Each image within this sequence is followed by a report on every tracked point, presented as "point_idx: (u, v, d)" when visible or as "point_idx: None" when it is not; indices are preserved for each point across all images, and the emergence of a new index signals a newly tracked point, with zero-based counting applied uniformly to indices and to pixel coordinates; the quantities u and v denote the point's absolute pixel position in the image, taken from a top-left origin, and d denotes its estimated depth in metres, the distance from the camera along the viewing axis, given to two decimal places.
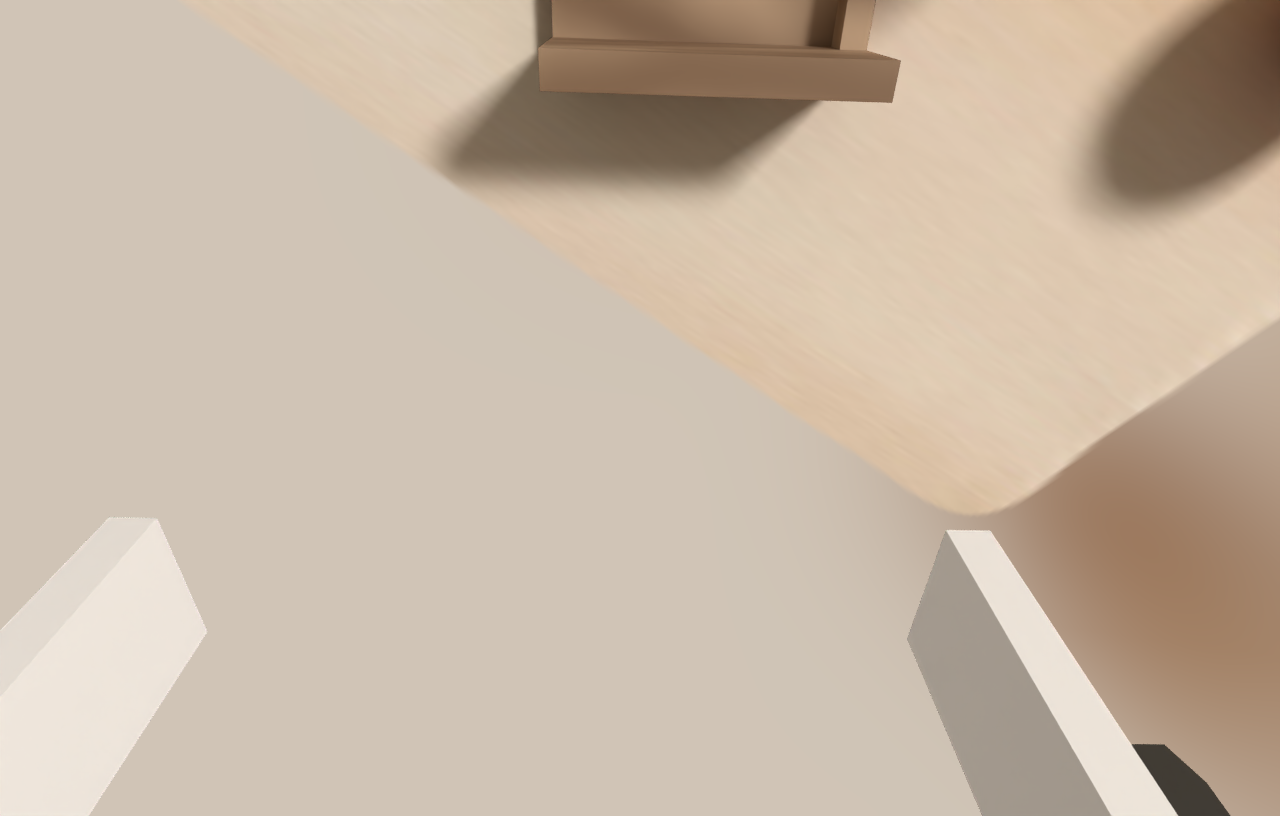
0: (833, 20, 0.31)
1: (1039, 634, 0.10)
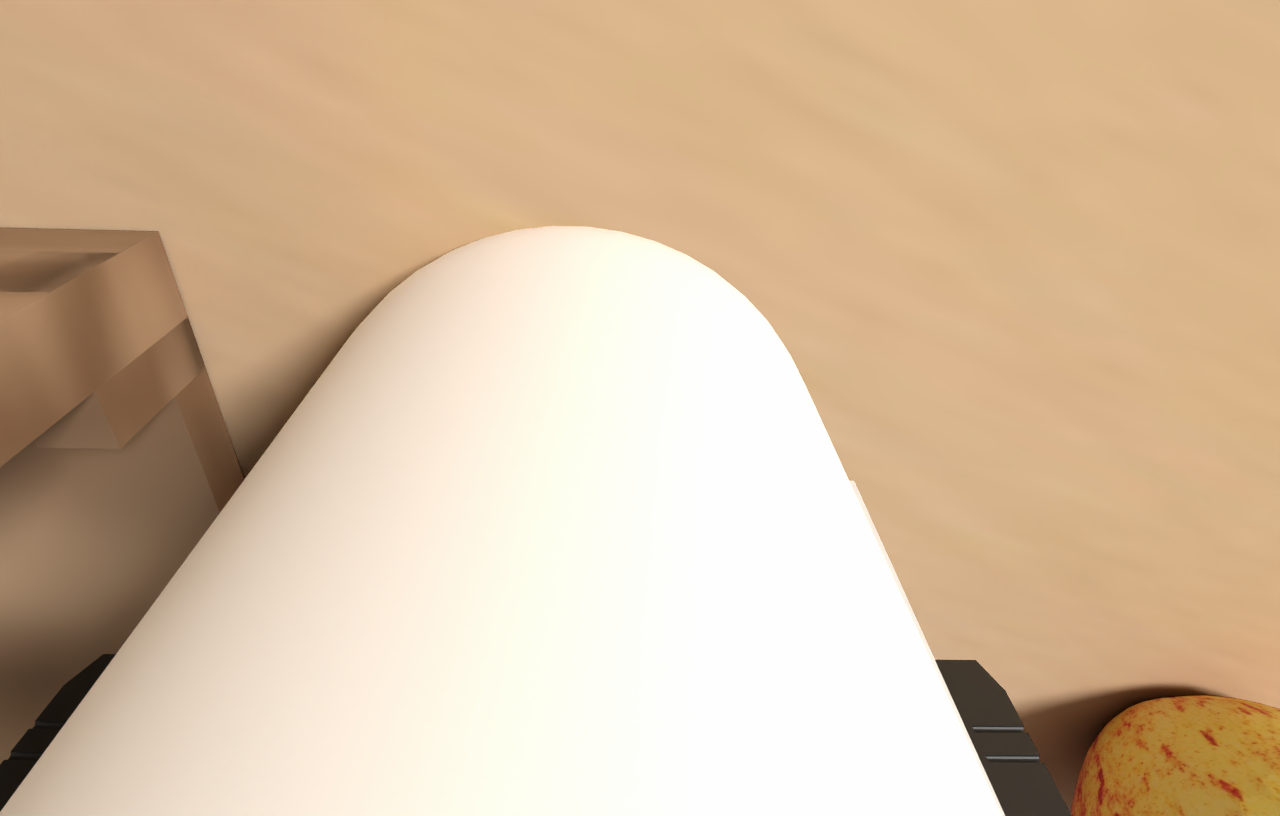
0: None
1: None
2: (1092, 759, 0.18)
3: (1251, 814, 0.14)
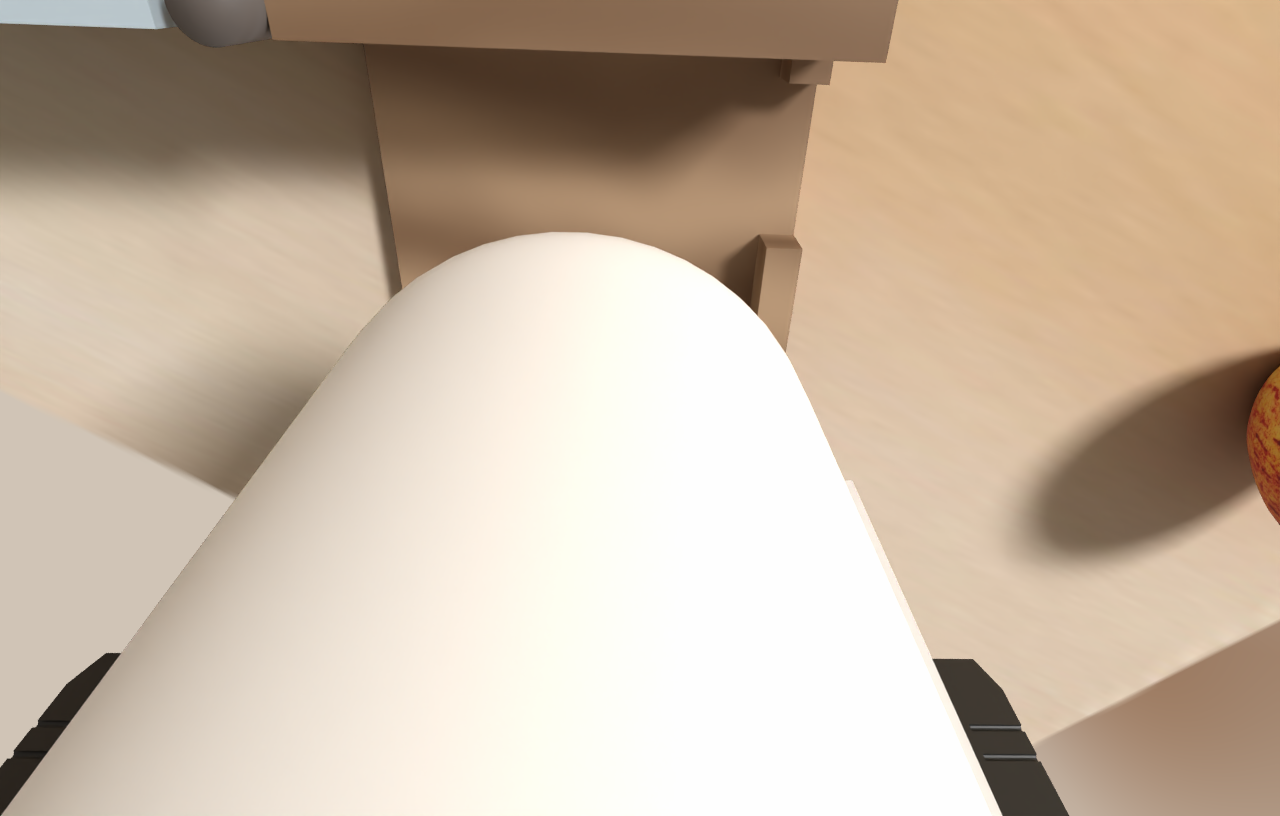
0: None
1: None
2: (1264, 389, 0.28)
3: None
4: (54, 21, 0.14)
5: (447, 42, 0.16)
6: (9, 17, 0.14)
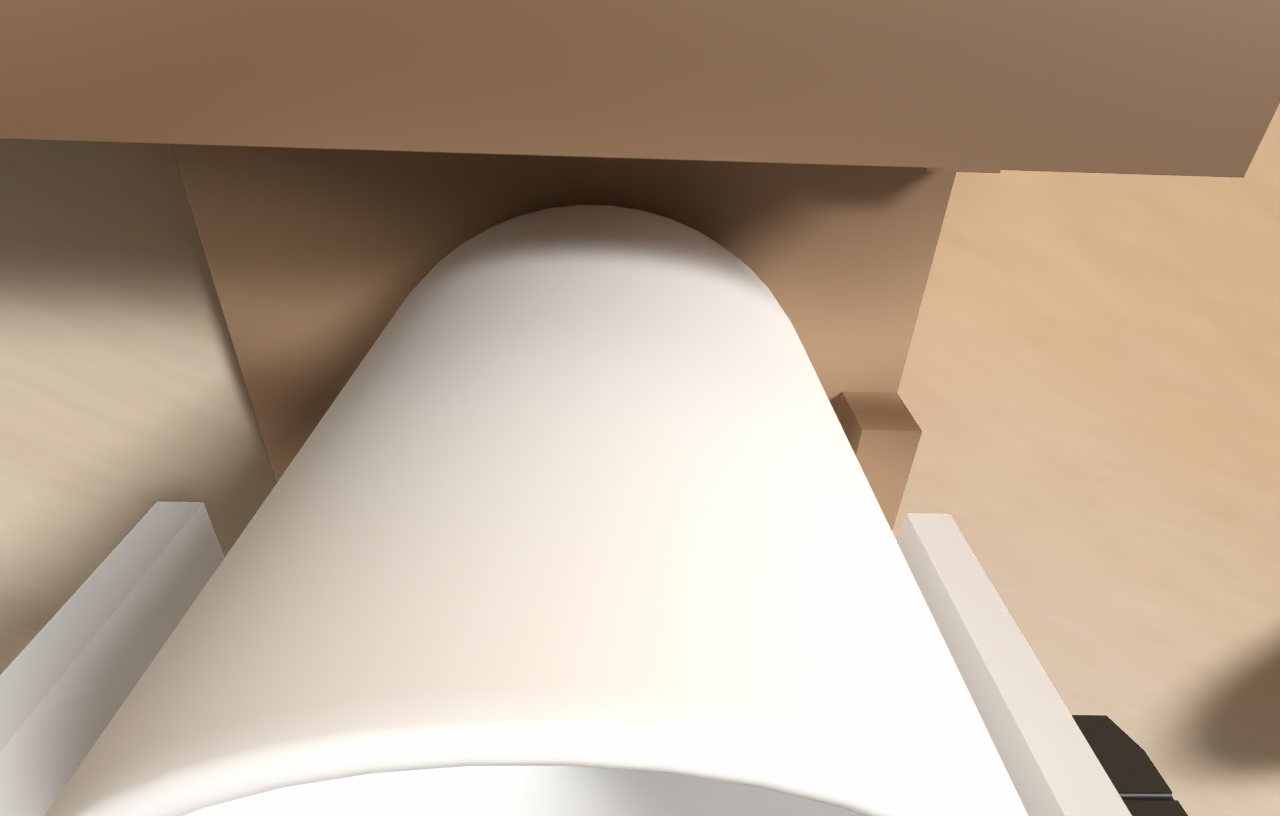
0: None
1: (989, 610, 0.10)
2: None
3: None
4: None
5: (189, 134, 0.06)
6: None
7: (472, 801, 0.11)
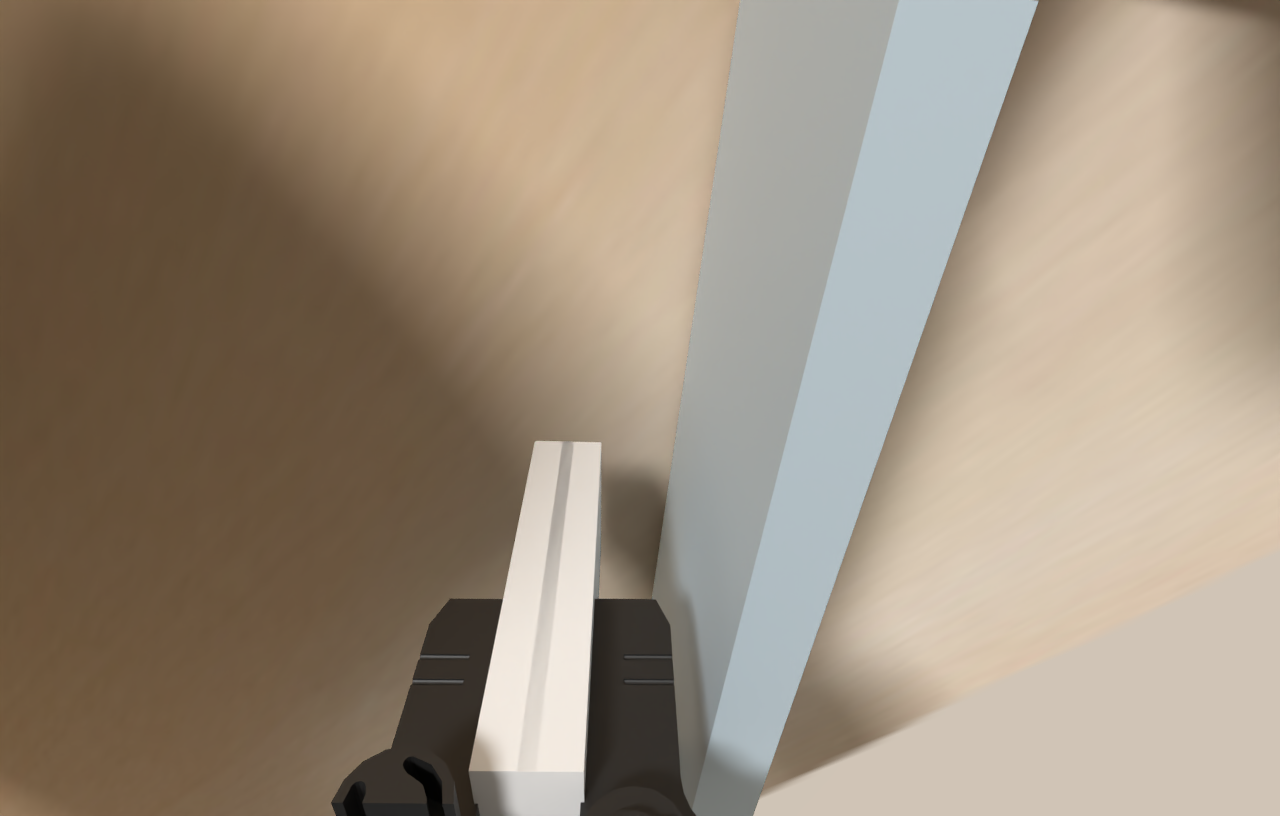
0: None
1: (580, 515, 0.11)
2: None
3: None
4: (934, 273, 0.06)
5: None
6: (900, 363, 0.06)
7: None
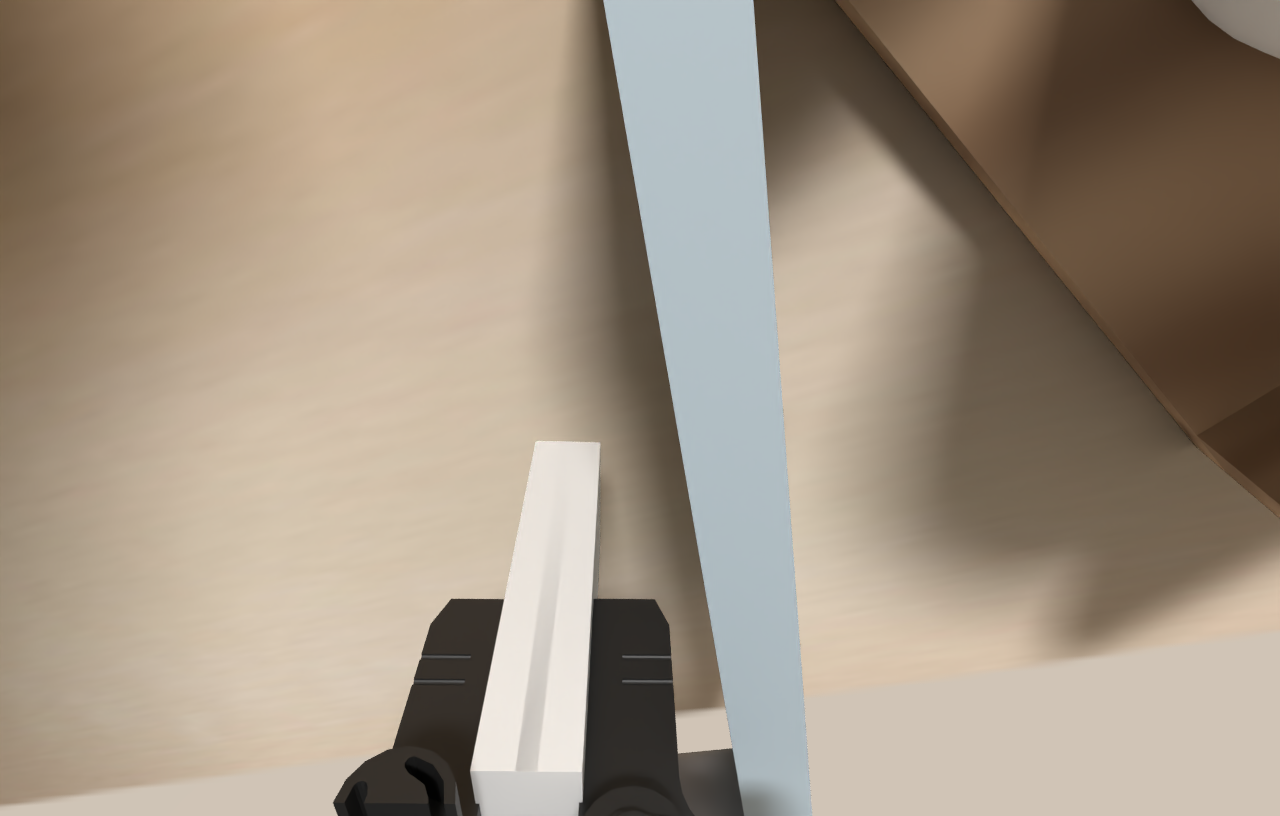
0: None
1: (579, 515, 0.11)
2: None
3: None
4: (760, 217, 0.05)
5: None
6: (763, 320, 0.06)
7: None
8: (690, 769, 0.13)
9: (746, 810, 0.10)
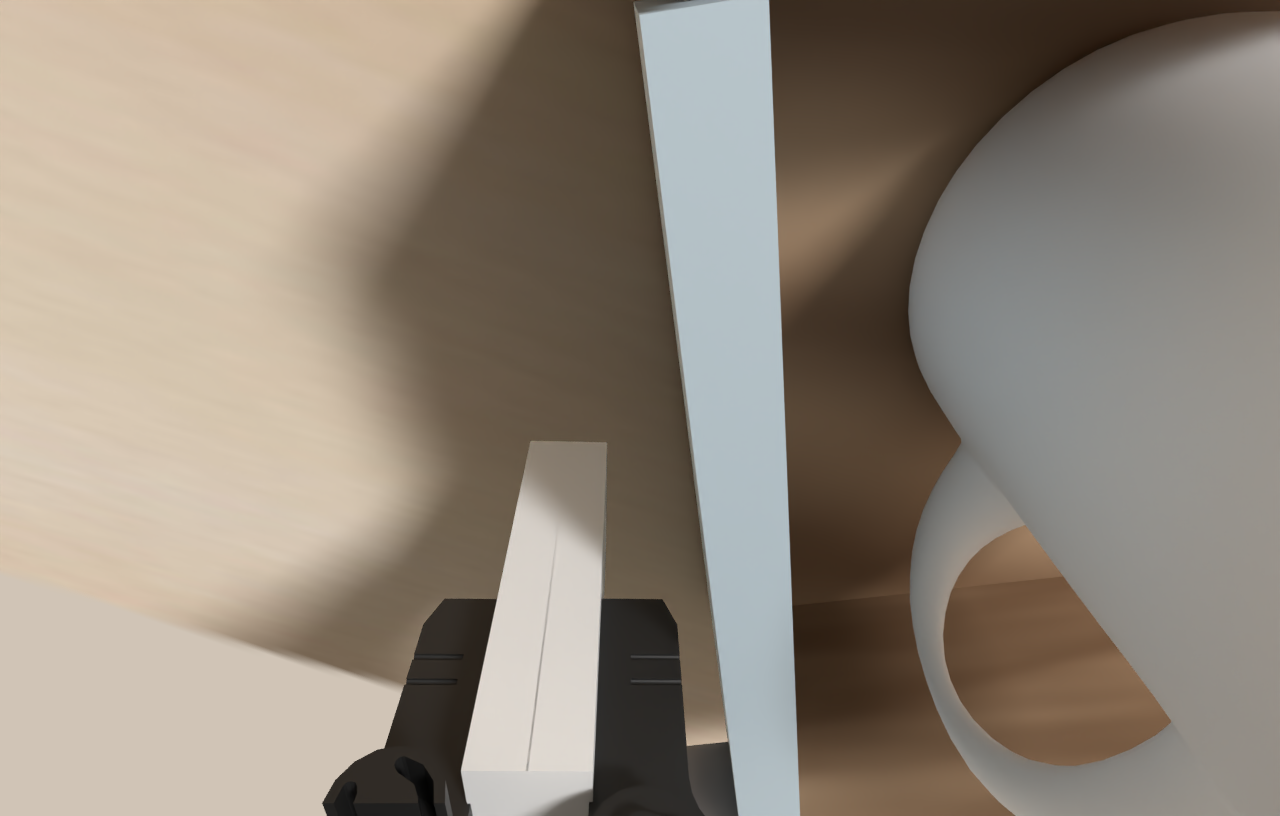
0: None
1: (587, 515, 0.11)
2: None
3: None
4: (770, 255, 0.06)
5: None
6: (770, 342, 0.07)
7: None
8: None
9: (738, 794, 0.11)
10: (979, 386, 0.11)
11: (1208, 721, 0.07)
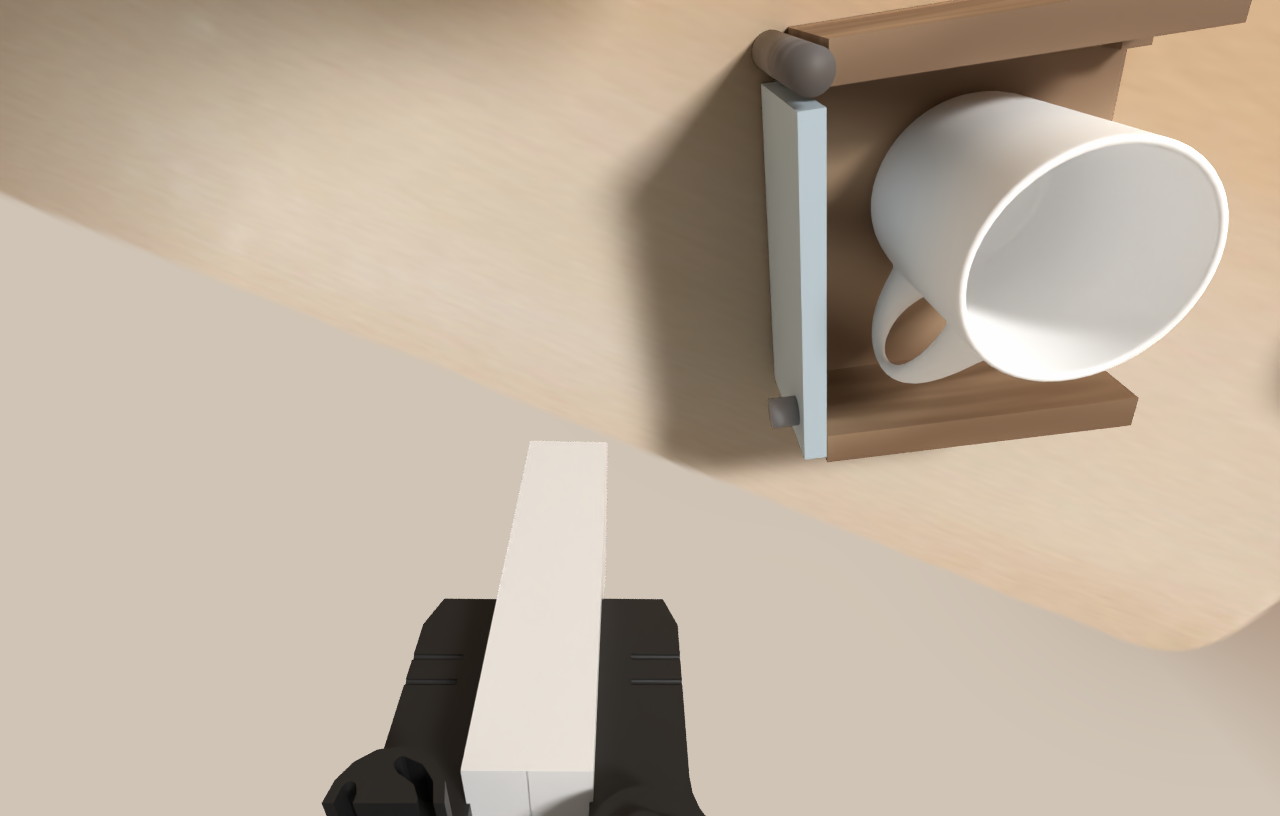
0: None
1: (587, 515, 0.11)
2: None
3: None
4: (824, 169, 0.25)
5: (942, 66, 0.24)
6: (823, 194, 0.25)
7: (973, 324, 0.28)
8: (775, 399, 0.32)
9: (804, 383, 0.29)
10: (892, 228, 0.29)
11: (939, 294, 0.25)
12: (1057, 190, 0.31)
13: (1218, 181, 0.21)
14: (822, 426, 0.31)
